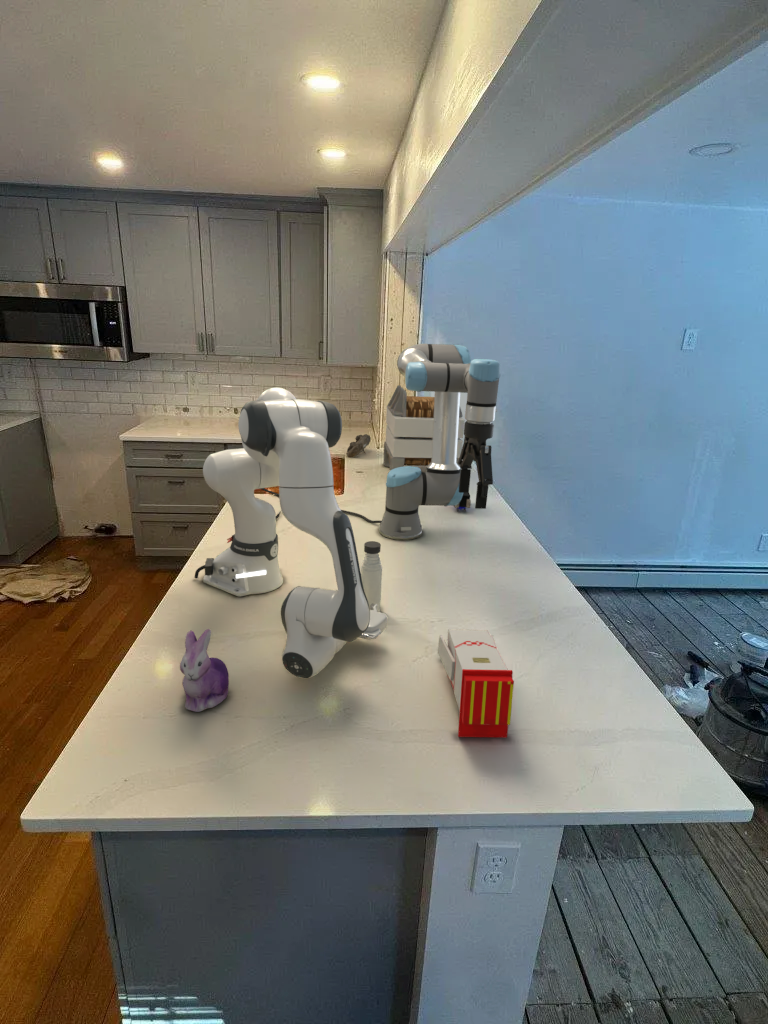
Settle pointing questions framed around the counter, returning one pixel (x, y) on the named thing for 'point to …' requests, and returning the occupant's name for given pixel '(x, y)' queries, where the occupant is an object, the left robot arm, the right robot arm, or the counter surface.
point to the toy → (478, 682)
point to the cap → (372, 547)
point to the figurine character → (464, 502)
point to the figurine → (202, 674)
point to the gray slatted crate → (412, 430)
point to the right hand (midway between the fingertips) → (471, 500)
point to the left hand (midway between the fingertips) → (357, 602)
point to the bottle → (372, 578)
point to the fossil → (358, 445)
